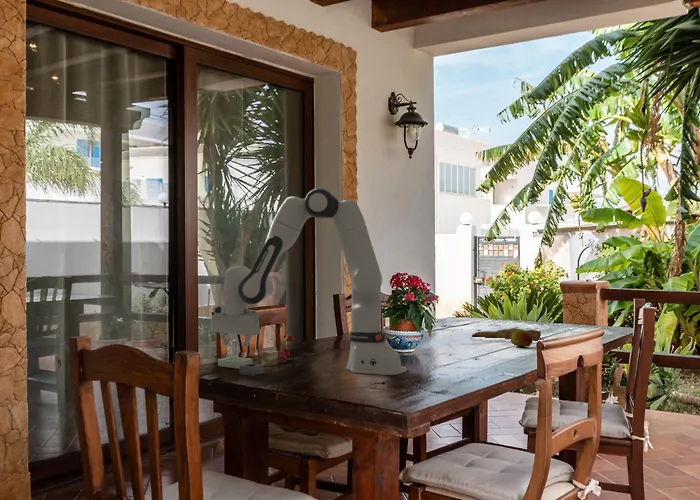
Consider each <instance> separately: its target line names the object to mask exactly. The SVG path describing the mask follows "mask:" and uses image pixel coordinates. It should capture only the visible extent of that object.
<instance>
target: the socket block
mask: <svg viewBox="0 0 700 500" xmlns="http://www.w3.org/2000/svg"><path fill="white" fill-rule="evenodd" d="M264 366H265V365H261V364H259V363H252V364H251V363H249V364H245V365H241V366H240V369H239V375H242V376H250V377H255V376H258V375H262V374H264V371H265V369H264Z"/></svg>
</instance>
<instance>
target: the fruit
mask: <svg viewBox="0 0 700 500" xmlns="http://www.w3.org/2000/svg"><path fill="white" fill-rule="evenodd" d="M510 343H512V345H513V344H514V346H515V345H518V346H529V347H530V346H531V345H532V344H533V343H532V336H531V334H530V332H528V331H521V330H516V331H514V332H513V334H512V336H511V342H510Z"/></svg>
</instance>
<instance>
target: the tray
mask: <svg viewBox="0 0 700 500" xmlns="http://www.w3.org/2000/svg"><path fill="white" fill-rule="evenodd" d="M249 363H251V364H253V358H248V357H247V358H246V357H239V356H238V361H232V356H228V357H224V358H218V359H217V366H218V367H223V368H231V369H239V370H240V366H241V365H245V364H249Z"/></svg>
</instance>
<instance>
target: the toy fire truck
mask: <svg viewBox="0 0 700 500" xmlns="http://www.w3.org/2000/svg"><path fill="white" fill-rule="evenodd" d="M294 340H295V339H294V335H292V334H291V335H289V334H288V335H287V334H283V340H282V341H281V346H282V349H281V350H277V351H278V363H282V364H285V363H286V362H289V361H290V360H291V352H290V351H291V350H290V349H288V344H287V342H293V341H294Z"/></svg>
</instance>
